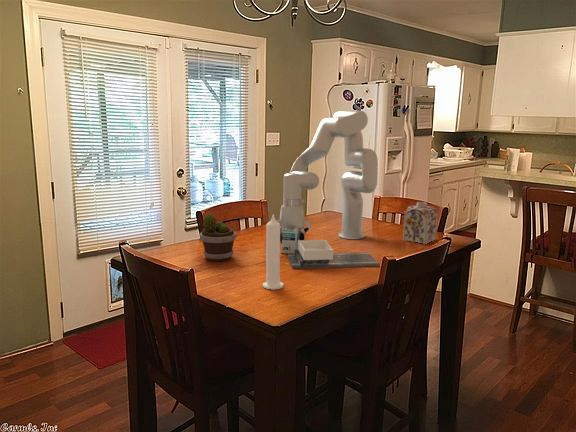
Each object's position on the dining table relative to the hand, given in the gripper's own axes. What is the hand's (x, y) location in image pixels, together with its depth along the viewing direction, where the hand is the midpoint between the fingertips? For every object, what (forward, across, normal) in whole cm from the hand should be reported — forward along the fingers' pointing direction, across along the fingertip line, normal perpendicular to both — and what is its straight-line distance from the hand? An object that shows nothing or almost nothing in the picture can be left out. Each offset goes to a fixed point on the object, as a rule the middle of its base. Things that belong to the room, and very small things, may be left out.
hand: (291, 242), depth 207 cm
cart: (+2, -7, +17) cm, 18 cm away
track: (+4, -14, +17) cm, 22 cm away
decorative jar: (+4, -62, -12) cm, 63 cm away
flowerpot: (+4, +31, +8) cm, 32 cm away
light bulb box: (+4, 0, 0) cm, 4 cm away
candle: (+4, +12, +43) cm, 45 cm away
